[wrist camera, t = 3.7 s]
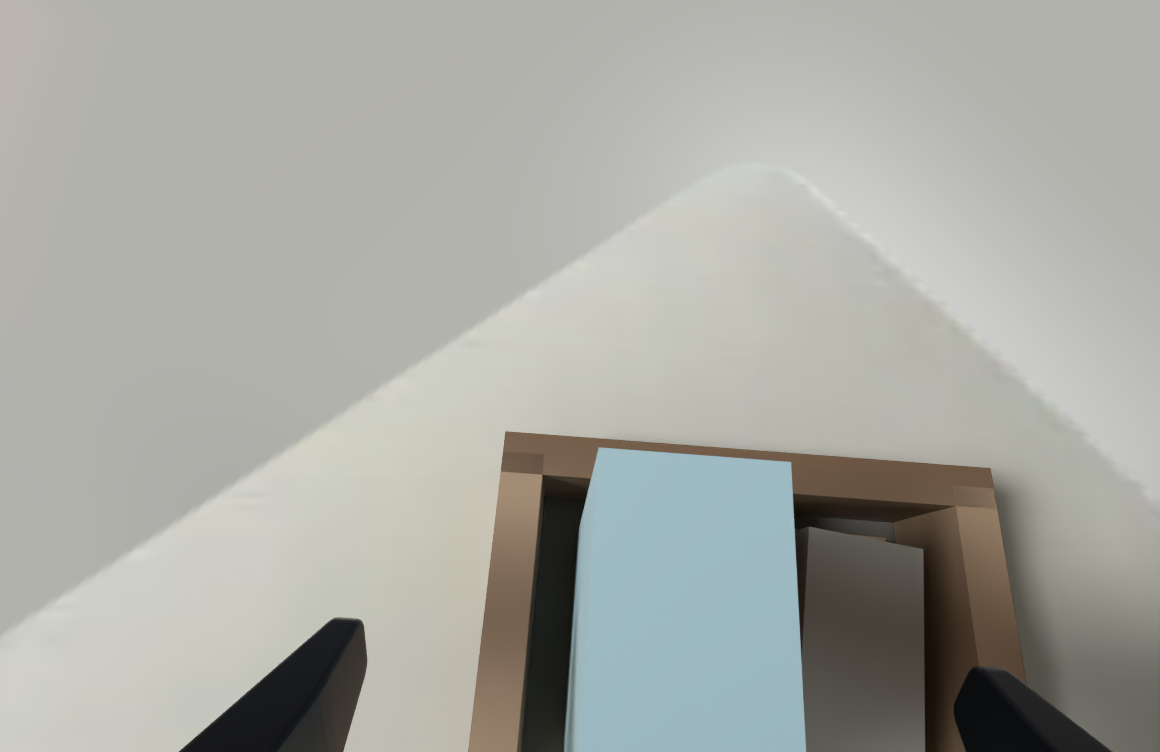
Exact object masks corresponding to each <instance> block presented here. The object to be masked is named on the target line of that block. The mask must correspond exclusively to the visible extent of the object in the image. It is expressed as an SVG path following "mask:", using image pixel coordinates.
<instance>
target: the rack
mask: <svg viewBox="0 0 1160 752" xmlns="http://www.w3.org/2000/svg"><path fill="white" fill-rule="evenodd" d="M599 447H600V448H613V449H626V450H639V451H653V452H666V453H679V454H692V455H705V456H718V457H732V458H745V459H758V460H771V461H784V462H791V471H792V490H793V509H794V515H802V516H815V517H829V518H842V519H855V520H868V521H882V522H893V525H894V534H895V543H896V544H900V545H905V546H910V547H915V548H920V549H923V570H924V680H925V752H966V751H965V749H964V746H963V743H962V740H961V737H960V734H959V731H958V728H957V725H956V723H955V719H954V713H953V707H954V702H955V699H956V697H957V695H958V693H959V691H960V688H961V686H962V684H963V682H964V680H965V678H966V676H967V674H968V672H969V670H970V669H971V668H973V667H974V666H986V667H998V668H1002V669H1005V670H1007V671H1008V672H1009V673H1011V674H1012V675H1014V676H1015V677H1016V678H1017V679H1019V680H1020V681H1021V682H1023V683H1024V684H1025V685H1026V686H1027V684H1026V678H1025V672H1024V666H1023V660H1022V654H1021V648H1020V642H1019V636H1018V630H1017V624H1016V618H1015V612H1014V606H1013V600H1012V594H1011V588H1010V582H1009V576H1008V570H1007V564H1006V558H1005V552H1004V546H1003V540H1002V534H1001V529H1000V523H999V517H998V511H997V505H996V499H995V493H994V487H993V481H992V475H991V469H990V468H980V467H967V466H954V465H941V464H927V463H914V462H901V461H888V460H875V459H862V458H848V457H835V456H822V455H809V454H796V453H783V452H769V451H756V450H743V449H730V448H717V447H704V446H691V445H677V444H664V443H651V442H638V441H625V440H612V439H598V438H585V437H572V436H559V435H546V434H533V433H519V432H505V440H504V449H503V457H502V466H501V474H500V483H499V492H498V500H497V509H496V517H495V526H494V535H493V543H492V552H491V560H490V569H489V577H488V586H487V595H486V603H485V612H484V620H483V629H482V638H481V646H480V655H479V663H478V672H477V681H476V689H475V698H474V706H473V715H472V723H471V732H470V741H469V749H468V752H522V748H523V737H524V726H525V714H526V703H527V692H528V681H529V670H530V659H531V647H532V636H533V625H534V614H535V603H536V592H537V581H538V569H539V558H540V547H541V536H542V525H543V514H544V502H545V496H551V497H564V498H577V499H586V498H587V494H588V489H589V485H590V481H591V477H592V473H593V469H594V465H595V461H596V457H597V453H598V449H599Z"/></svg>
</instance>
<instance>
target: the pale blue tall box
mask: <svg viewBox="0 0 1160 752" xmlns="http://www.w3.org/2000/svg"><path fill="white" fill-rule="evenodd" d="M563 743H564V752H806V740H805V721H804V701H803V682H802V663H801V644H800V625H799V605H798V586H797V567H796V548H795V528H794V509H793V490H792V471H791V462H784V461H771V460H758V459H745V458H732V457H718V456H705V455H692V454H679V453H666V452H653V451H639V450H626V449H613V448H600V447H599V449H598V453H597V457H596V461H595V465H594V469H593V473H592V477H591V481H590V485H589V489H588V494H587V498H586V502H585V506H584V510H583V514H582V518H581V522H580V526H579V530H578V534H577V548H576V563H575V577H574V591H573V606H572V620H571V634H570V649H569V663H568V678H567V692H566V706H565V721H564V735H563Z"/></svg>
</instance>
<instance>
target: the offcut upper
mask: <svg viewBox="0 0 1160 752" xmlns="http://www.w3.org/2000/svg"><path fill="white" fill-rule="evenodd" d="M795 548H796V567H797V586H798V605H799V625H800V644H801V663H802V682H803V701H804V721H805V740H806V752H925V680H924V570H923V549H920V548H915V547H910V546H905V545H900V544H895V543H890V542H885V541H880V540H875V539H870V538H865V537H860V536H855V535H850V534H845V533H839V532H834V531H829V530H824V529H819V528H814V527H806V528H804V529H801V530H798V531H795Z"/></svg>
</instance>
